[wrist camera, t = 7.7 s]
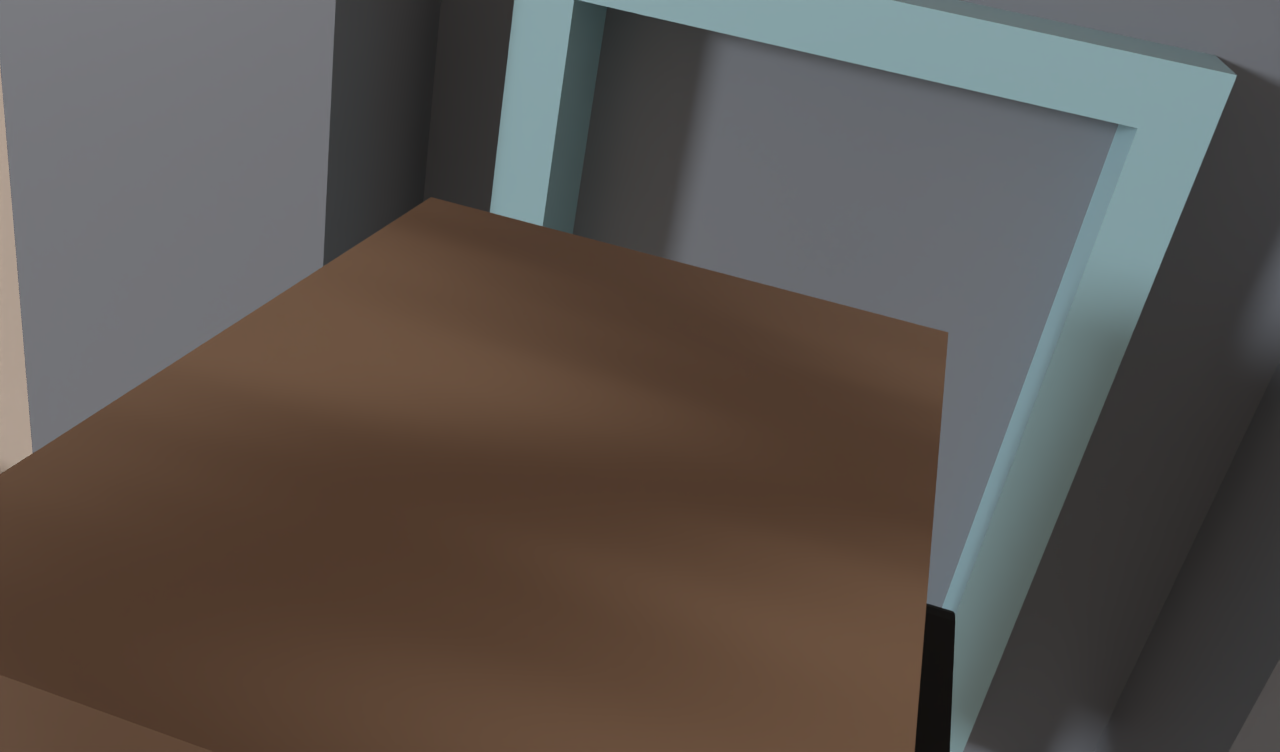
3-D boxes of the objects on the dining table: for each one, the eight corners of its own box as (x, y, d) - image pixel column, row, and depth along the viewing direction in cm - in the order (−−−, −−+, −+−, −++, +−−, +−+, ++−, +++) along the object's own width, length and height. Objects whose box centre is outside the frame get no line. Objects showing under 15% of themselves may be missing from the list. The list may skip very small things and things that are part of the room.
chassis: (1956, -163, 13) (2551, -178, 8) (1262, 938, 21) (1341, 1262, 16) (202, -450, 16) (-130, -579, 12) (205, 570, 25) (11, 741, 20)
